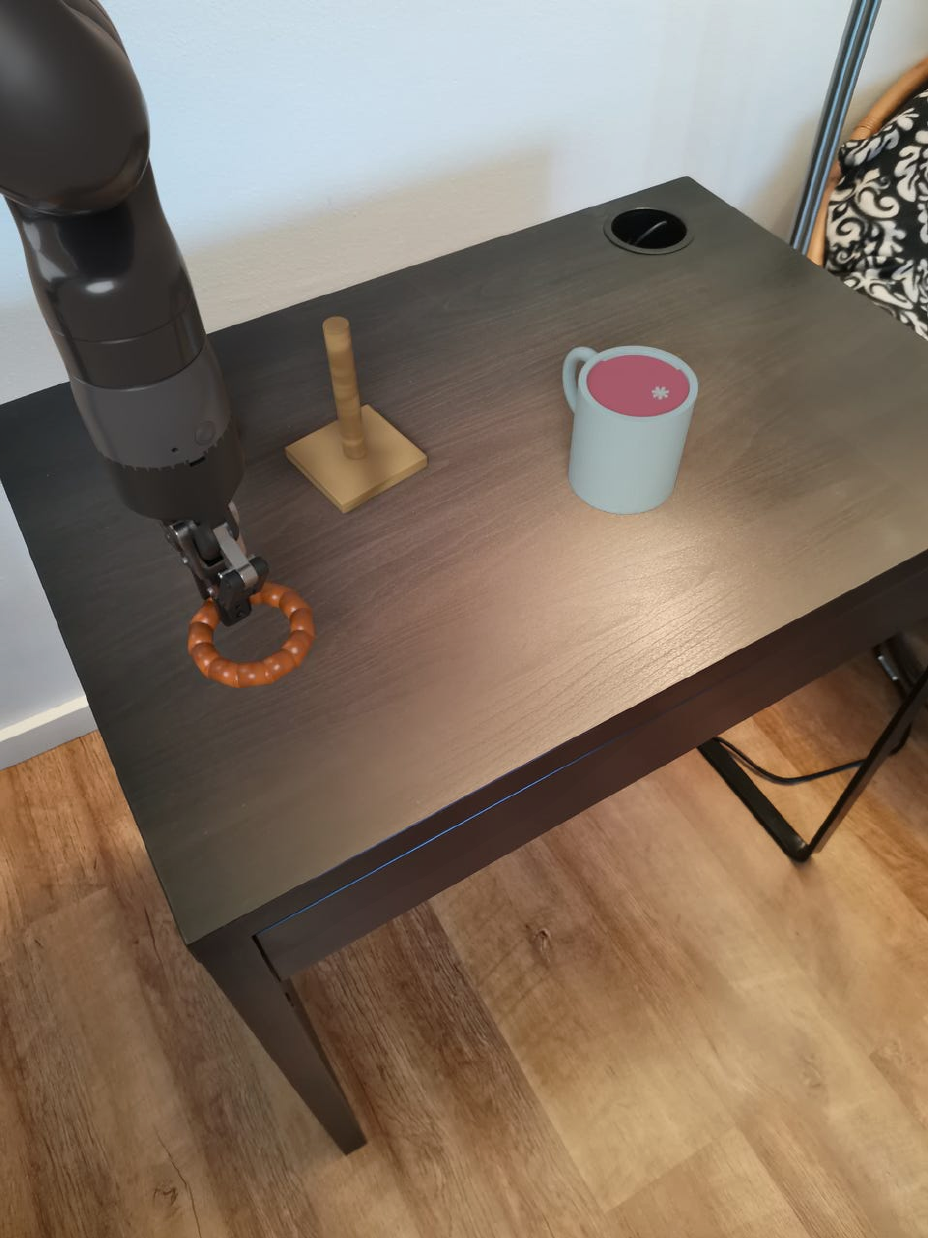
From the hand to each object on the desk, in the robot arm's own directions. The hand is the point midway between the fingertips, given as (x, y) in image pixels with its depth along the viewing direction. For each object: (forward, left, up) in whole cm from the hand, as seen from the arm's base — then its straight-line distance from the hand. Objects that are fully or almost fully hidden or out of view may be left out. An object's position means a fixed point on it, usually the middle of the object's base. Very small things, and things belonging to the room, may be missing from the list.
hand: (228, 606), depth 62 cm
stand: (+18, +11, -6) cm, 22 cm away
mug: (+35, -3, -6) cm, 36 cm away
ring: (0, -3, 0) cm, 3 cm away
